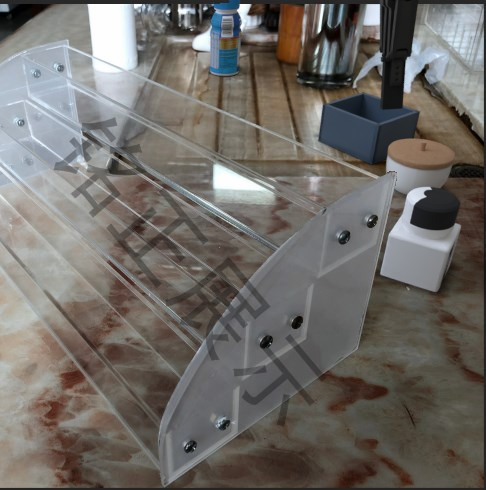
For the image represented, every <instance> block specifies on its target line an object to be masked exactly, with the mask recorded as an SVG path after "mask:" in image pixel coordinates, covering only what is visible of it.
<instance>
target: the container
mask: <svg viewBox="0 0 486 490" xmlns="http://www.w3.org/2000/svg"><path fill="white" fill-rule="evenodd" d="M460 208H461V201H460V199H459V198H458V197H457V196H456V195H455V194H454V193H452V192H450V191H448V190H445V189H444V188H435V187H420V188H416V189H413V190H412V191H410V192H409V193H408V194H407V195H406V199H405V203H404V207H403V211H402V213H401V216H400V217H399V219H398V220H397V222H396V223H395V224H394V226H393V227H392V229H391V230H390V232H389V233H388V237H387V241H386V246H385V250H384V254H383V258H382V263H381V268H380V273H379V274H380V276H383V277H387V278H389V279H393V280H395V281H398V282H401V283H405V284H408V285H410V286H414V287H417V288H420V289H424V290H426V291H430V292H432V293H437V292H439V290H440V288H441V286H442V284H443V282H444V280H445V277H446V275H447V273H448V270H449V268H450V266H451V264H452V260H453V256H454V252H455V249H456V246H457V243H458V239H459V236H460V233H461V229H462V225H461V224H460V223H456V222H457V217H458V214H459V210H460Z"/></svg>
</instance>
